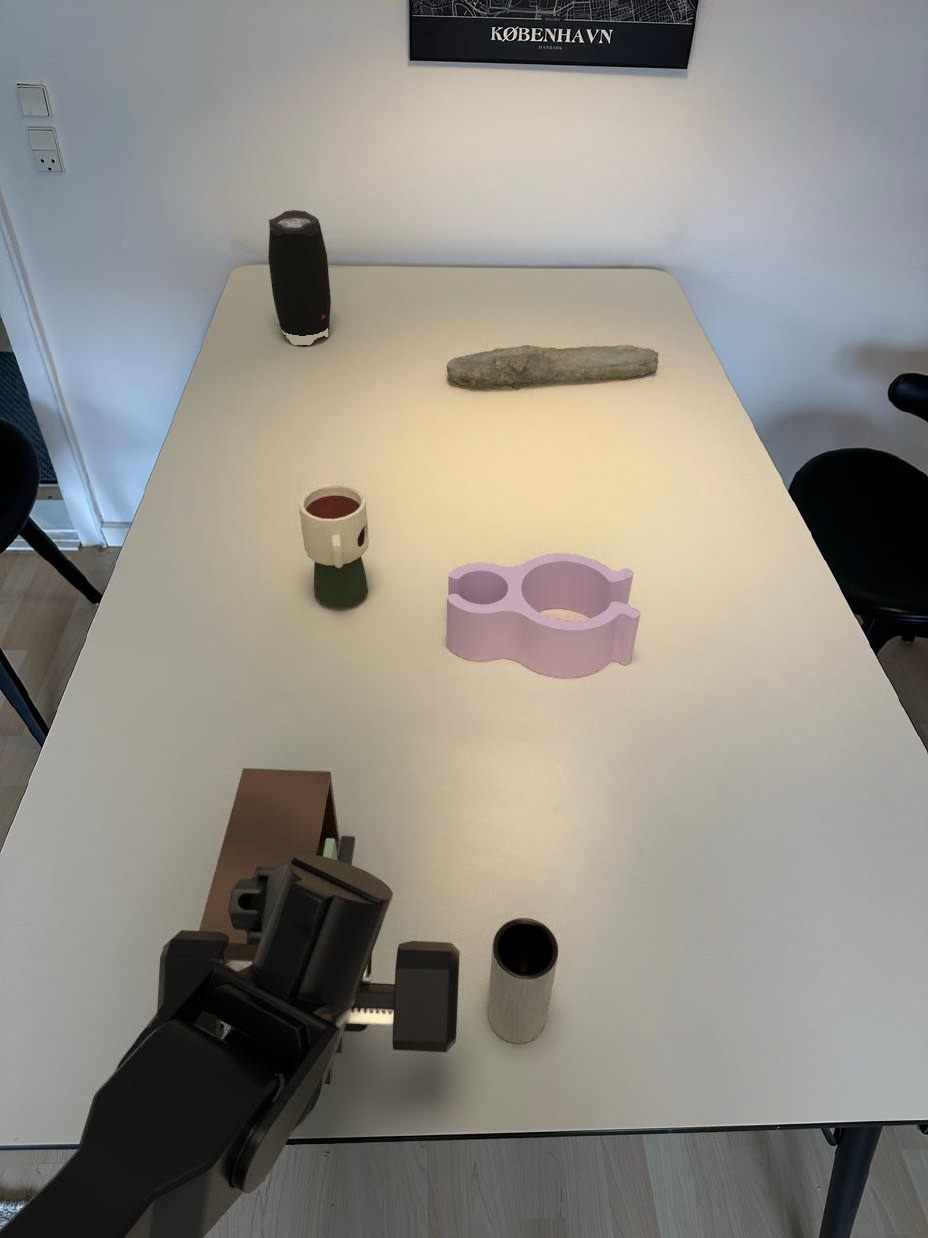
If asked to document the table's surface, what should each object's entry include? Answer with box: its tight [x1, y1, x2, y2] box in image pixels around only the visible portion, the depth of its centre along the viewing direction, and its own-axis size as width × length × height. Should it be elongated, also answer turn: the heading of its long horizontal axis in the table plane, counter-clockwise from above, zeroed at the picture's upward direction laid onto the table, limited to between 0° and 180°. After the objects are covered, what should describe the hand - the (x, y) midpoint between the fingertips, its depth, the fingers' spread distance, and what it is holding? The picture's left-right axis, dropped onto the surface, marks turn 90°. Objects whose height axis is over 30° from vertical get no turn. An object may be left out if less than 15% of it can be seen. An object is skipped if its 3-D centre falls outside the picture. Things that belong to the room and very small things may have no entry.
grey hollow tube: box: [487, 917, 559, 1044], centre depth 65 cm, size 4×4×10 cm
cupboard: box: [198, 767, 356, 965], centre depth 71 cm, size 15×9×10 cm, turn 178°
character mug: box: [298, 483, 370, 607], centre depth 100 cm, size 11×7×13 cm, turn 9°
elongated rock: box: [446, 344, 660, 390], centre depth 144 cm, size 35×5×10 cm
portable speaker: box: [267, 209, 332, 336], centre depth 148 cm, size 9×9×20 cm
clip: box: [446, 552, 641, 679], centre depth 98 cm, size 20×12×7 cm, turn 88°
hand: (332, 948), depth 65 cm, fingers closed
